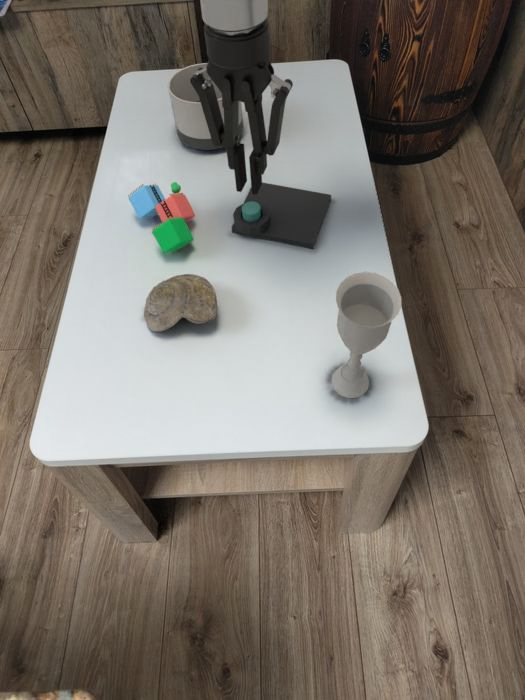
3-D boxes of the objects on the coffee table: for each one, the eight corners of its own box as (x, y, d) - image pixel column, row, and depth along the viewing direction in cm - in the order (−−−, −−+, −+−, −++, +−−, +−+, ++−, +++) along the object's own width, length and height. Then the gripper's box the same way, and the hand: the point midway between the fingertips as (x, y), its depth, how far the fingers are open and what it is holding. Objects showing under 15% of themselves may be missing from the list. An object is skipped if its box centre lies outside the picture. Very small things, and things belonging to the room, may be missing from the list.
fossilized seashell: (174, 266, 77) (173, 248, 71) (230, 305, 77) (234, 291, 71) (132, 320, 75) (126, 306, 68) (190, 360, 75) (190, 351, 68)
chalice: (323, 358, 69) (333, 272, 54) (372, 357, 69) (396, 271, 54) (326, 406, 66) (338, 327, 50) (378, 405, 65) (406, 326, 50)
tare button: (263, 211, 82) (262, 203, 80) (257, 224, 80) (257, 215, 79) (246, 208, 83) (245, 199, 81) (240, 220, 81) (239, 212, 80)
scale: (331, 200, 86) (332, 186, 84) (311, 253, 80) (312, 240, 78) (254, 186, 89) (253, 172, 87) (229, 236, 83) (228, 223, 80)
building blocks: (174, 257, 87) (141, 194, 86) (208, 236, 83) (174, 169, 82) (146, 265, 80) (110, 197, 79) (182, 242, 76) (144, 169, 75)
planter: (215, 107, 103) (208, 55, 94) (257, 134, 97) (254, 81, 88) (165, 135, 98) (153, 83, 90) (206, 165, 93) (197, 112, 84)
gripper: (307, 10, 57) (302, 179, 77) (188, -2, 60) (213, 164, 80) (289, 43, 53) (288, 212, 73) (163, 28, 56) (195, 194, 76)
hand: (249, 187), depth 77 cm, fingers closed
